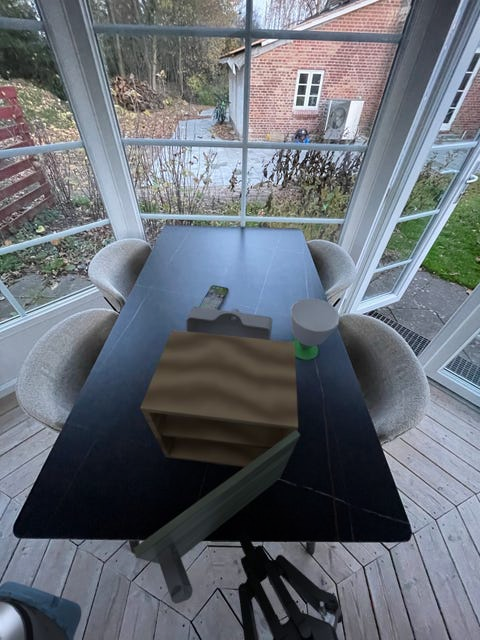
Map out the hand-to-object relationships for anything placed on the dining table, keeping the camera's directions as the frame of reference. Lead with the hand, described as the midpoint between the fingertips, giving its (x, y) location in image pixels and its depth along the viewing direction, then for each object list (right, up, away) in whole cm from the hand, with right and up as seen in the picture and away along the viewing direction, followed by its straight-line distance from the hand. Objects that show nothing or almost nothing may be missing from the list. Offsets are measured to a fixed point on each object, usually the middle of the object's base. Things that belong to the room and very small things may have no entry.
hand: (244, 540), depth 45 cm
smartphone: (-11, +45, +57) cm, 74 cm away
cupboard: (-4, +10, +23) cm, 25 cm away
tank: (-4, +30, +43) cm, 52 cm away
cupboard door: (-1, -5, +8) cm, 9 cm away
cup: (+20, +28, +41) cm, 53 cm away
